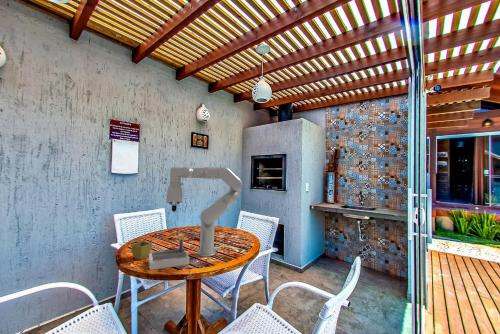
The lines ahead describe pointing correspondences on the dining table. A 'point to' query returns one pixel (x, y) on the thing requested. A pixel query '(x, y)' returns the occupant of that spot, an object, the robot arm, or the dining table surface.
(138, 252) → the flower pot
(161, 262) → the breaker block
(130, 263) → the dining table surface
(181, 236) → the breaker lever
